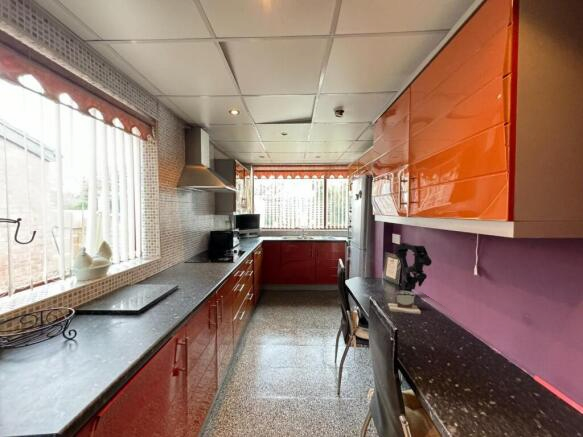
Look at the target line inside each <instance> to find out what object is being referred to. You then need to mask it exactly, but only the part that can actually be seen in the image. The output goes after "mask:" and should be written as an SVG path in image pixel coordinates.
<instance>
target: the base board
mask: <svg viewBox="0 0 583 437" xmlns="http://www.w3.org/2000/svg"><path fill="white" fill-rule="evenodd" d="M387 306H388V308H389V310H390V312H396V313H406V314H419V315H421V314H422V311H421V310H420V309H419V307H418V306H417V305H415V304H413V309H409V308H398V307H397V303H392V302H388V303H387Z"/></svg>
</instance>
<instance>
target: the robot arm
mask: <svg viewBox="0 0 583 437" xmlns="http://www.w3.org/2000/svg"><path fill="white" fill-rule="evenodd" d="M409 250H410V251H412V253H413V254H412V256H414V258H413V264H412V265H410V266H409V264H408V261H407V256H408V252H409ZM394 254H395V256H396V257H397V258H398V260H399V264H400V267H401V271H402V275H403V278H402V282H401V284H400V288H401V289H402V290H403V291H409V292H412V293H413V290H416V286H417V284H418V287H421V286H422V285H423V283H424V282H425V280H426V279H427V278H428V277H427V276H428V275H427V274H426V273H425V271H424V267H425V266H426V267H429V266H431V265H432V262H433V261H432V258H430V256H429V254H428V252H427V249H426V247H425V245H415V244H412V243H410V242H409V243H408V242H401V243H400V244H399V245H397V246H396V247H395V249H394ZM411 274H412V275H413V276H412V275H411Z"/></svg>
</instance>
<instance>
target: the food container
mask: <svg viewBox="0 0 583 437" xmlns="http://www.w3.org/2000/svg"><path fill="white" fill-rule="evenodd" d="M395 296H396V304H397V307H398V308H409V309H413V305H414V301H415V298H416V294H415V293H414V292H413V291H412V292H409V291H404V290H397V291H396V292H395Z"/></svg>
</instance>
